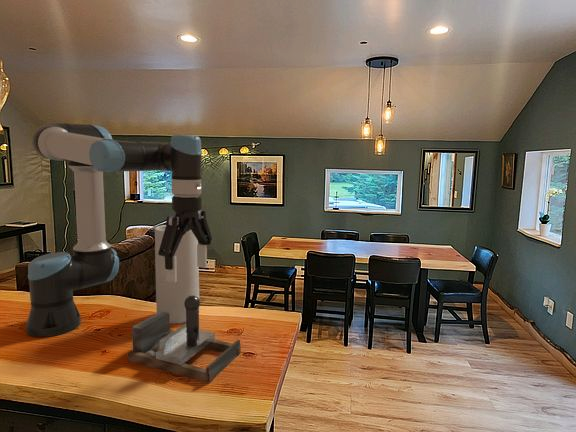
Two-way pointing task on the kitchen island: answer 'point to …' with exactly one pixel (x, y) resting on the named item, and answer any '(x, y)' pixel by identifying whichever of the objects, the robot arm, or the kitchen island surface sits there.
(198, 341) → the ram
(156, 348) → the stone
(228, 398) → the kitchen island surface
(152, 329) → the grey rectangular frame
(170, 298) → the vase
